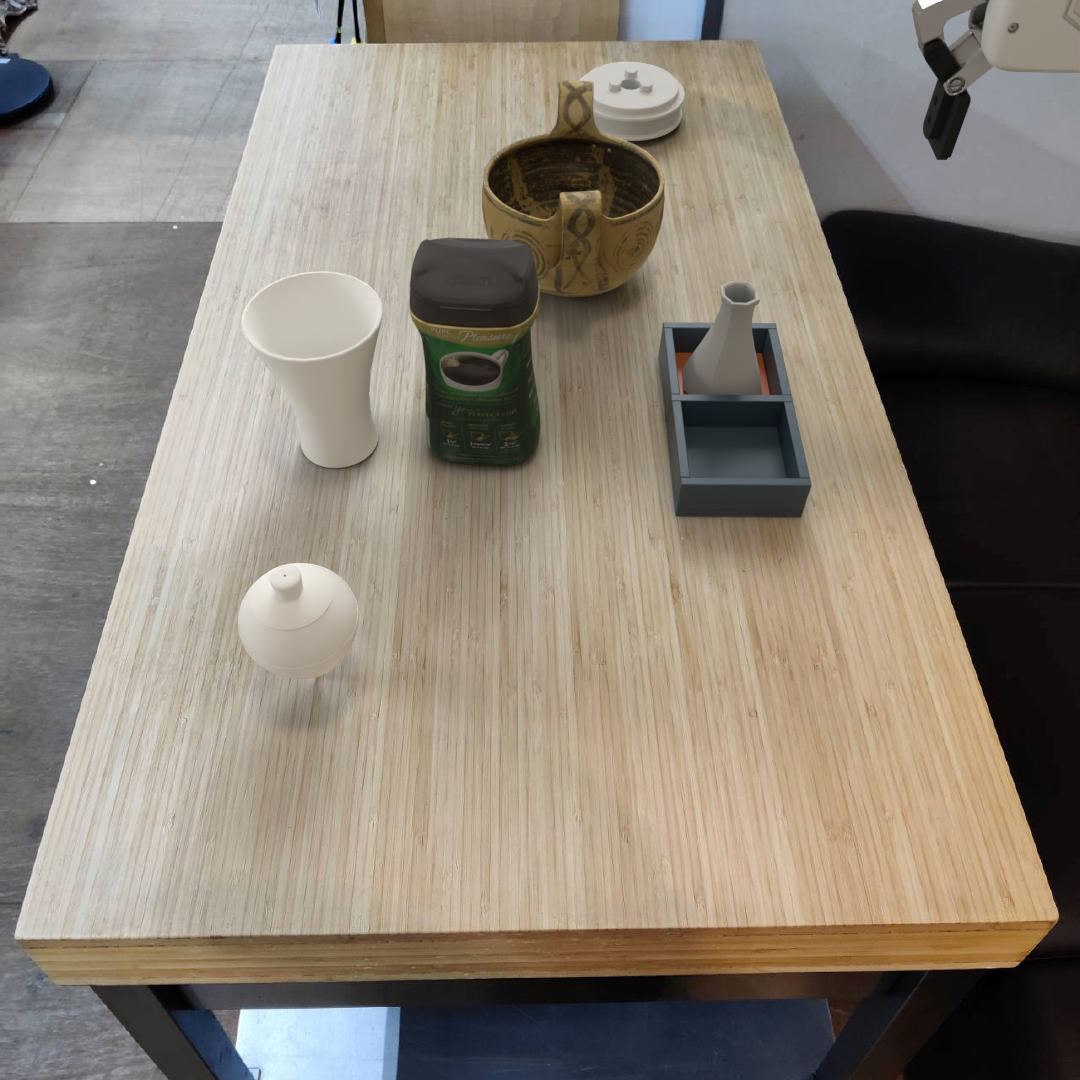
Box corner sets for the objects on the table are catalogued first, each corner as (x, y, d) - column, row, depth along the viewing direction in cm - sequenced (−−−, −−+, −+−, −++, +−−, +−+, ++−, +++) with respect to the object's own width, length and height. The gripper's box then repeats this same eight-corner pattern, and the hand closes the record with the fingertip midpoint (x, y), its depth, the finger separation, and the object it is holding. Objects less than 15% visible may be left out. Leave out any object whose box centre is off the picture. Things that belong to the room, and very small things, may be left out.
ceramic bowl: (663, 349, 91) (682, 206, 79) (480, 348, 91) (472, 204, 79) (648, 210, 105) (662, 71, 93) (489, 209, 105) (483, 69, 93)
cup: (378, 497, 80) (354, 371, 69) (257, 474, 81) (216, 348, 71) (417, 409, 86) (401, 281, 75) (305, 389, 88) (274, 261, 77)
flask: (697, 420, 84) (714, 327, 76) (669, 365, 88) (682, 272, 81) (776, 405, 85) (800, 312, 77) (744, 351, 90) (764, 259, 82)
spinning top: (370, 624, 72) (346, 520, 63) (374, 717, 67) (349, 620, 58) (264, 637, 71) (224, 533, 62) (261, 731, 67) (217, 635, 57)
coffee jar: (543, 407, 86) (545, 223, 72) (536, 474, 81) (536, 291, 67) (434, 401, 87) (414, 216, 72) (420, 467, 82) (395, 283, 67)
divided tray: (801, 517, 79) (812, 485, 76) (675, 516, 79) (681, 484, 76) (767, 355, 91) (775, 322, 88) (658, 354, 91) (662, 321, 88)
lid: (681, 151, 112) (687, 109, 108) (571, 146, 113) (572, 103, 109) (680, 95, 120) (685, 54, 116) (577, 91, 121) (578, 50, 117)
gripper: (994, -161, 44) (887, 182, 58) (1376, -158, 44) (1180, 184, 58) (952, -212, 49) (862, 116, 63) (1298, -209, 49) (1133, 118, 63)
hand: (1015, 148), depth 60 cm, fingers open, 9 cm apart
